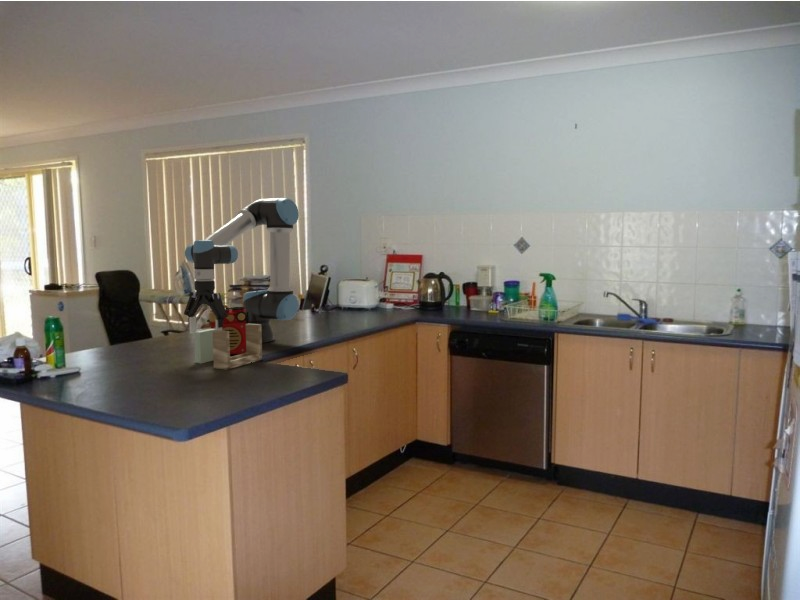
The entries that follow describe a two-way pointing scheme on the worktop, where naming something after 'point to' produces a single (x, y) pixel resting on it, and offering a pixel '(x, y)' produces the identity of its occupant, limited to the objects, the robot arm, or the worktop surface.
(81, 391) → the worktop surface
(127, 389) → the worktop surface
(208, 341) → the door panel
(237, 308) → the radio
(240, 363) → the u-shaped stone holder
